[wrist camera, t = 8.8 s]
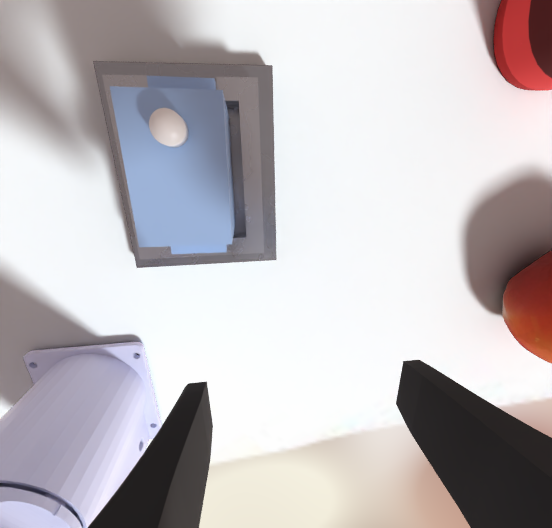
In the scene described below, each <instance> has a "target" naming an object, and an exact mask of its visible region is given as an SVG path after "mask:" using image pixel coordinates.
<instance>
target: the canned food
mask: <svg viewBox="0 0 552 528" xmlns="http://www.w3.org/2000/svg"><path fill="white" fill-rule="evenodd" d="M493 41H494V54H495V57H496V61H497V65H498V67H499V69H500V71H501V73H502V75H503V76H504V77H505V78H506V80H507V81H508V82H509V83H511V84H512V85H514V86H515V87H517V88H521V89H524V90H551V89H552V0H501V3H500V6H499V8H498V12H497V17H496V21H495V27H494V40H493Z"/></svg>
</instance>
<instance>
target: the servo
mask: <svg viewBox="0 0 552 528" xmlns="http://www.w3.org/2000/svg"><path fill="white" fill-rule="evenodd" d="M147 83H148V87H118V86H110V91H111V97H112V102H113V108H114V113H115V118H116V124H117V129H118V135H119V140H120V146H121V151H122V157H123V162H124V168H125V173H126V178H127V184H128V189H129V195H130V200H131V206H132V211H133V217H134V222H135V228H136V233H137V239H138V244H139V247H166V246H171V253H172V254H192V253H220V252H227V245H228V244H232V241H233V235H234V229H235V212H234V193H233V175H232V157H231V138H230V120H229V114H228V110H227V106H226V102H225V98H224V93H223V90H216V82H215V78H197V77H171V76H147Z"/></svg>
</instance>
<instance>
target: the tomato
mask: <svg viewBox="0 0 552 528" xmlns="http://www.w3.org/2000/svg"><path fill="white" fill-rule="evenodd" d="M502 313H503V318H504V321H505V323H506V325H507V327H508V328H509V330H510V332H511V333H512V335H513V336H514V338H515V339H516V340H517V341H518V342H519V343H520V344H521V345H522V346H523V347H524V348H525V349H527V350H528V351H530V352H531V353H533V354H534V355H536V356H538V357H539V358H541V359H543V360H545V361H547V362H550V363H552V250H551V251H549V252H548V253H546V254H545V255H543V256H542V257H540V258H539V259H537V260H536V261H534V262H533V263H532V264H530V265H529V266H527V267H526V268H524V269H523V270H521V271H520V272H519V273H518V274H516V275H515V276H514V277H512V278H511V279H510V280H509V282H508V284H507V286H506V289H505V291H504V294H503V310H502Z"/></svg>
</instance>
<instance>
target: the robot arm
mask: <svg viewBox="0 0 552 528" xmlns="http://www.w3.org/2000/svg"><path fill="white" fill-rule="evenodd" d="M135 353H138V354H140V355H136V354H135ZM23 359H24V362H25V364H26V367H27V369H28V372H29V374H30V376H31V379H32V381H33V383H34V385H33V386H32V387H31V389H30V390H29V391H28V392H27V393H26V394H25V395H24V396H23V397H22V398H21V399H20V400H19V401H18V402H17V403H16V404H15V405H14V406H13V407H12V408H11V409H10V410H9V411H8V412H7V413H6V414H5V415H4V416H3V417H2V418H1V419H0V528H199V523H200V517H201V511H202V505H203V499H204V493H205V487H206V481H207V475H208V470H209V463H210V455H211V442H212V428H213V425H212V417H211V410H210V403H209V396H208V388H207V382H200V383H190V384H188V385H187V386H186V387H185V388H184V390H183V392H182V394H181V396H180V397H179V399H178V401H177V402H176V404H175V406H174V407H173V409H172V411H171V412H170V414H169V416H168V417H167V419H166V420H165V422H164V424H163V425H162V424H161V420H160V415H159V411H158V406H157V402H156V397H155V393H154V389H153V384H152V380H151V375H150V371H149V366H148V362H147V358H146V353H145V349H144V346H143V344H142V343H140V342H126V343H114V344H103V345H91V346H79V347H67V348H56V349H44V350H32V351H29V352H28V353H27V354H25V355H24V357H23ZM35 363H36V364H35ZM396 404H397V406H398V408H399V411H400V413H401V415H402V417H403V419H404V421H405V423H406V425H407V427H408V428H409V430H410V432H411V434H412V436H413V437H414V439H415V440H416V442H417V444H418V445H419V447H420V448H421V450H422V451H423V453H424V455H425V456H426V458H427V459H428V461H429V462H430V464H431V465H432V467H433V469H434V470H435V472H436V473H437V475H438V476H439V478H440V479H441V481H442V482H443V484H444V486H445V487H446V489H447V490H448V492H449V493H450V495H451V496H452V498H453V499H454V501H455V503H456V504H457V505H458V507H459V509H460V510H461V512H462V514H463V515H464V517H465V519H466V520H467V522H468V524H469V525H470V527H471V528H552V438H551V437H549V436H547V435H545V434H543V433H541V432H539V431H538V430H536V429H534V428H532V427H530V426H529V425H527V424H525V423H523V422H522V421H520V420H518V419H516V418H515V417H513V416H511V415H509V414H508V413H506V412H504V411H502V410H501V409H499V408H497V407H496V406H494V405H492V404H491V403H489V402H487V401H486V400H484V399H482V398H481V397H479V396H477V395H476V394H474V393H473V392H471V391H469V390H468V389H466V388H464V387H463V386H461V385H460V384H458V383H456V382H455V381H453V380H452V379H450V378H448V377H447V376H445V375H444V374H442V373H440V372H439V371H437V370H436V369H434V368H432V367H431V366H429V365H427V364H426V363H424V362H422V361H420V360H412V361H403V367H402V373H401V378H400V384H399V390H398V395H397V401H396ZM154 423H155V424H154ZM149 439H153V440H152V442H151V443H150V445H149V446H148V448H147V449H146V447H147V444H148V441H149ZM145 449H146V451H145Z"/></svg>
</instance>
